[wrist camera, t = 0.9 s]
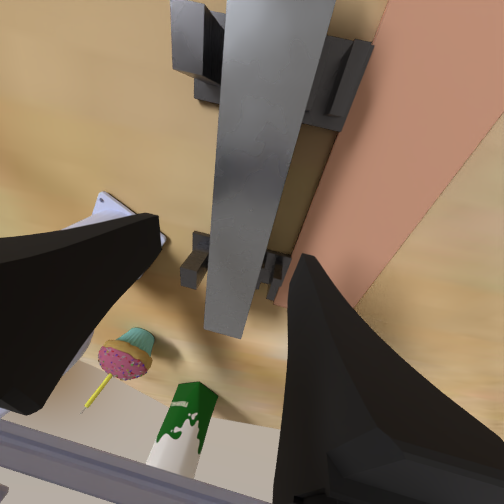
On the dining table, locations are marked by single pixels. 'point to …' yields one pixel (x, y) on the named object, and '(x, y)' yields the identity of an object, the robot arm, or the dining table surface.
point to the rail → (256, 140)
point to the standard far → (198, 259)
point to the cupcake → (125, 357)
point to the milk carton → (184, 430)
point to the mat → (404, 135)
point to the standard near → (211, 59)
